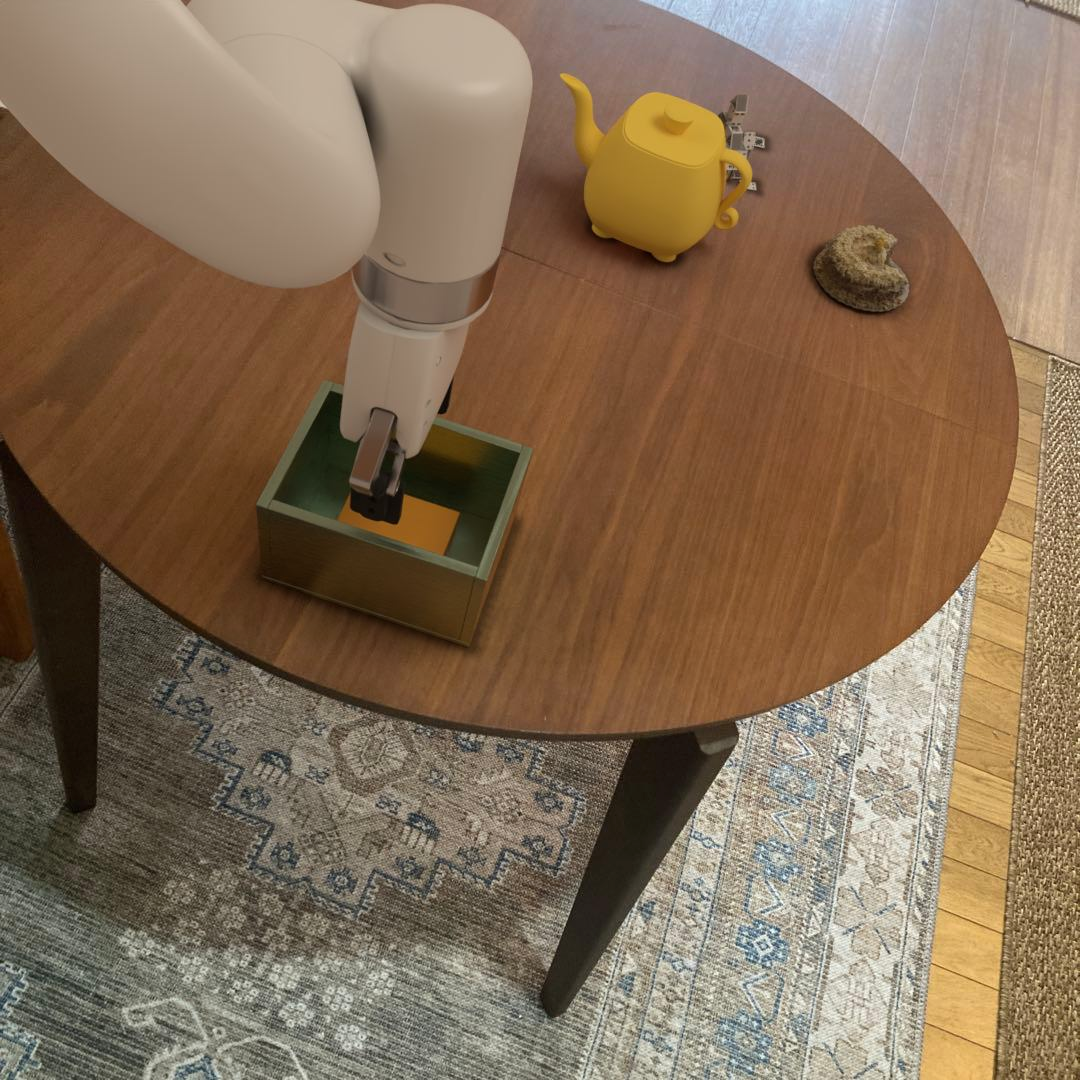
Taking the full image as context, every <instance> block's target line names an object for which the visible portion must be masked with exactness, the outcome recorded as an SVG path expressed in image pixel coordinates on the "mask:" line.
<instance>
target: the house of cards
mask: <svg viewBox="0 0 1080 1080" xmlns="http://www.w3.org/2000/svg"><path fill="white" fill-rule="evenodd" d="M749 96H750V95H749V93H737V94H736V95H735V96H734V97H733V98H732V99H731V100H730V102H729V103H730V104H729V106H728V110H721V111H720V113H719V114H718V115H717V116H718V117H719V118H720V119H721V121H722V123H723V125H724V131H725V138H726V149H730V150H734V151H737V152H738V153H740V154H741V155H743V156H744V157H745V158H746V159H747V161H749V160H748V159H749V157H750V154H751V152H752V151H753V150H754V148H755V147H758V148H762V149H765V148H766V147H765V138H764V137H760V136H757V135H756V133H757V131H744V132H743V130H742V128H741V127H742V125H743V123H744V119H745V117H746V115H747V114H748V105H749V104H748V103H749ZM732 179H735V180H737V179H739V182H740V181H741V179H742V176H741V174H740V172H739V171H738V170H737V169H736V168H735V167H734V166H732V165H730V164H727V172H726V181H730V180H732ZM747 190H749V191H750V190H751V191H757V182H753V181H751V183H750V185H749V187H748V189H747Z"/></svg>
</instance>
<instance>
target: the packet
mask: <svg viewBox="0 0 1080 1080" xmlns="http://www.w3.org/2000/svg"><path fill="white" fill-rule="evenodd" d="M350 495H351V492H350V494H349V496H348V498H347V500H346V502H345V504H344V506H343V509H342V511H341V513H340V515H339V517H338V519H337V521H340V522H343V523H346V524H349V525H352V526H355V527H358V528H361V529H364V530H367V531H370V532H373V533H376V534H379V535H382V536H385V537H388V538H391V539H394V540H397V541H400V542H403V543H407V544H410V545H413V546H416V547H419V548H422V549H425V550H428V551H431V552H434V553H437V554H440V555H443V556H446V557H447V555H448V553H449V550H450V547H451V545H452V542H453V540H454V537H455V535H456V530H457V525H458V520H459V515H460V512H457V511H454V510H451V509H448V508H445V507H442V506H439V505H436V504H433V503H430V502H427V501H424V500H420V499H417V498H414V497H411V496H408V495H405V494H404V498H403V506H402V513H401V518H400V520H399V522H398V524H397V525H393V524H390V523H387V522H384V521H373V520H370V519H367V518H365V517H363V516H362V515H361V514H360V513H357V512H354V511H352V510H351V509H350Z"/></svg>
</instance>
